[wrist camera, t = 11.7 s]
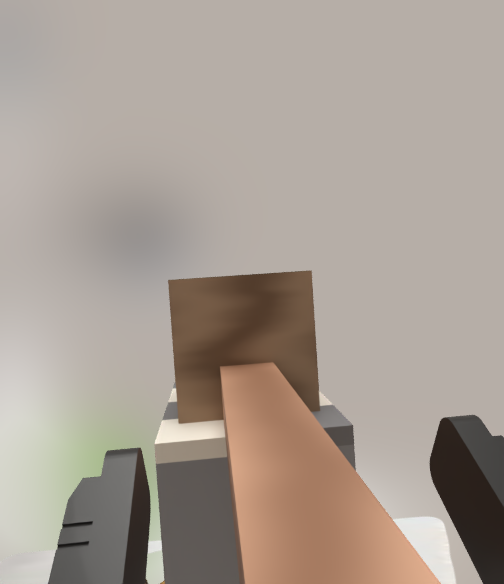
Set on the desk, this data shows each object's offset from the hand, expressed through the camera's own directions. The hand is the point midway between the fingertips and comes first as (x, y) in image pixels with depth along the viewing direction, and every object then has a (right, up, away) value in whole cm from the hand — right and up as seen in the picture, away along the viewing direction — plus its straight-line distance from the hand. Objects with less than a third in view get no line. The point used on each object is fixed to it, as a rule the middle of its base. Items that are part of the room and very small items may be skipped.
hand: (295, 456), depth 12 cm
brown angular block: (-1, -3, +10) cm, 10 cm away
